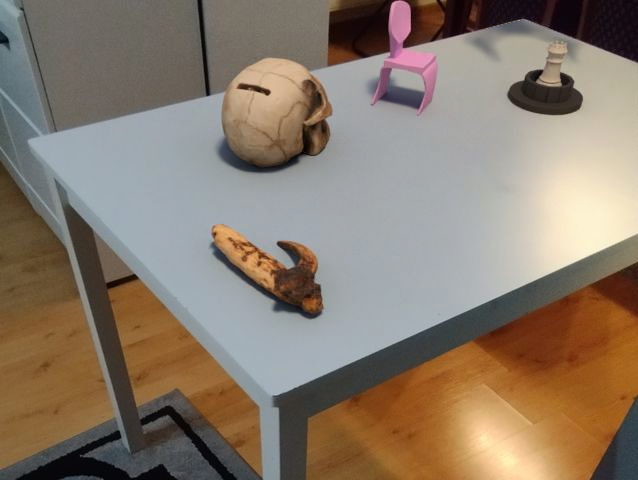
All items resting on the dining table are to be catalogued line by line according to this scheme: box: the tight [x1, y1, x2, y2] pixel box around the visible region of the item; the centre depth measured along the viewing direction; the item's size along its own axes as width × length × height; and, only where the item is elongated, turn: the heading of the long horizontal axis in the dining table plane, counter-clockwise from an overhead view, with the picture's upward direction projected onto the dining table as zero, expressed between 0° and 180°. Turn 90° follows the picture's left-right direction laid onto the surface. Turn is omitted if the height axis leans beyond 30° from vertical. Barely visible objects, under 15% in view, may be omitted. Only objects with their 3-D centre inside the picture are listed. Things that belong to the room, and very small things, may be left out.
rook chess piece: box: [536, 40, 569, 86], centre depth 111 cm, size 4×4×8 cm
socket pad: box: [507, 68, 584, 116], centre depth 113 cm, size 12×12×4 cm
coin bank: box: [220, 57, 334, 168], centre depth 95 cm, size 16×17×13 cm
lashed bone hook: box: [211, 223, 325, 315], centre depth 76 cm, size 9×5×18 cm
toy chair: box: [370, 0, 439, 116], centre depth 106 cm, size 8×9×15 cm
